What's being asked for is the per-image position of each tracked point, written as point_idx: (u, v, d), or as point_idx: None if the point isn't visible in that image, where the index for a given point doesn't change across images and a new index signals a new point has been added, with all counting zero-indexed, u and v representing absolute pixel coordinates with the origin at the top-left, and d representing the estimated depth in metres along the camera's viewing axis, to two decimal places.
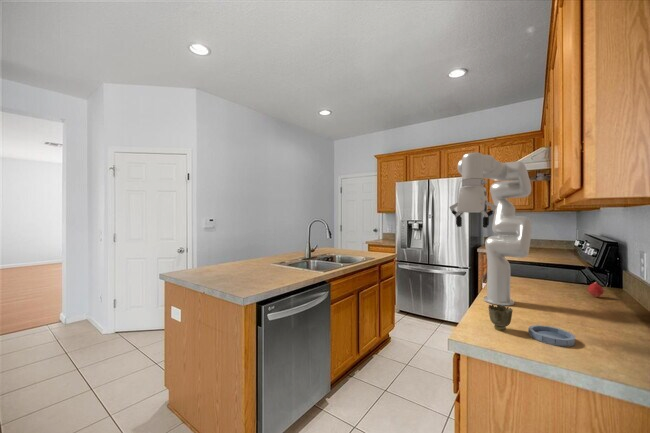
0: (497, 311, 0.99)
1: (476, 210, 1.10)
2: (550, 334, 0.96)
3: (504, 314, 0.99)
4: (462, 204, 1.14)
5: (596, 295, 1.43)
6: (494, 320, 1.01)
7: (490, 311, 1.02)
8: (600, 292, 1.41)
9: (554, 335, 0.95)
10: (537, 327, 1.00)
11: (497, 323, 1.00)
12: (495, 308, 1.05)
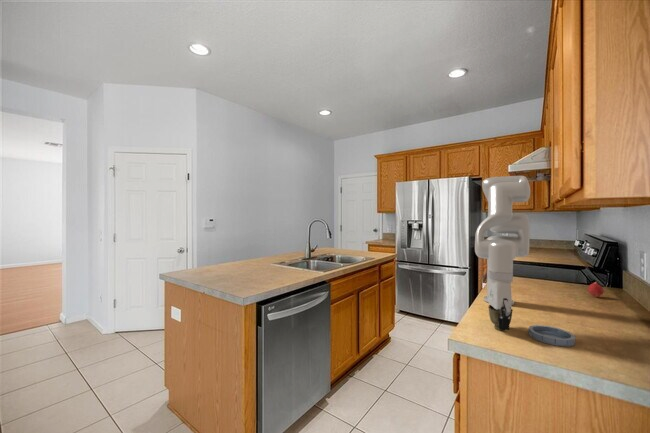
0: (497, 311, 0.99)
1: None
2: (550, 334, 0.96)
3: None
4: None
5: (596, 295, 1.43)
6: (494, 320, 1.01)
7: (490, 311, 1.02)
8: (600, 292, 1.41)
9: (554, 335, 0.95)
10: (537, 327, 1.00)
11: (497, 323, 1.00)
12: None
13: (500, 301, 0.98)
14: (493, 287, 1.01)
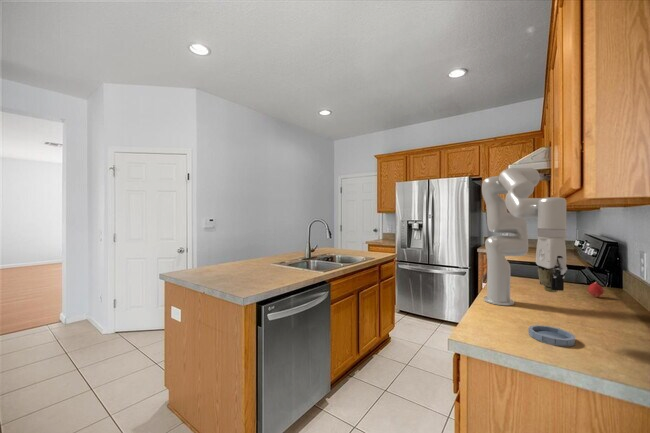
0: (549, 271, 0.92)
1: None
2: (550, 334, 0.96)
3: None
4: None
5: (596, 295, 1.43)
6: (545, 281, 0.93)
7: (540, 272, 0.95)
8: (600, 292, 1.41)
9: (554, 335, 0.95)
10: (537, 327, 1.00)
11: (549, 284, 0.93)
12: (544, 270, 0.98)
13: (554, 259, 0.90)
14: (544, 245, 0.94)
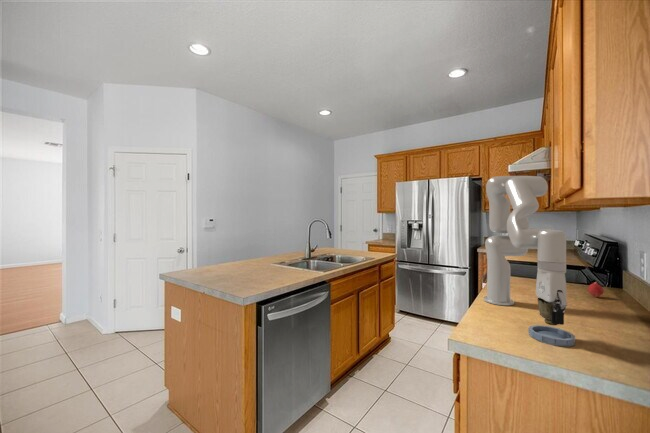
0: (549, 304, 0.92)
1: None
2: (550, 334, 0.96)
3: None
4: None
5: (596, 295, 1.43)
6: (545, 314, 0.93)
7: (540, 304, 0.95)
8: (600, 292, 1.41)
9: (554, 335, 0.95)
10: (537, 327, 1.00)
11: (549, 317, 0.93)
12: (544, 301, 0.98)
13: (554, 293, 0.90)
14: (544, 278, 0.94)
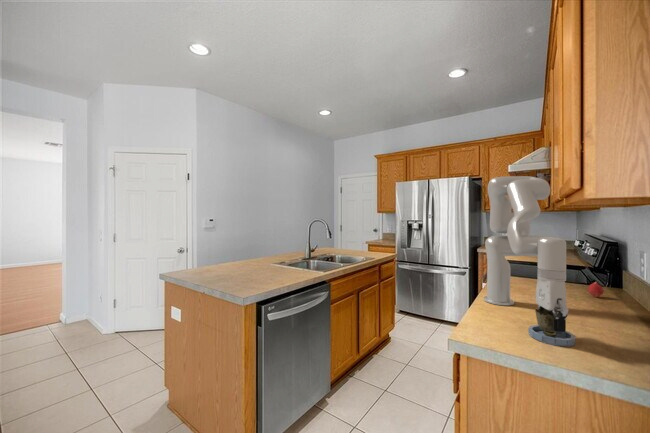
0: (547, 316, 0.93)
1: None
2: None
3: None
4: None
5: (596, 295, 1.43)
6: (544, 326, 0.94)
7: (538, 316, 0.95)
8: (600, 292, 1.41)
9: None
10: (537, 327, 1.00)
11: (548, 329, 0.93)
12: (542, 312, 0.99)
13: (554, 301, 0.90)
14: (544, 286, 0.94)
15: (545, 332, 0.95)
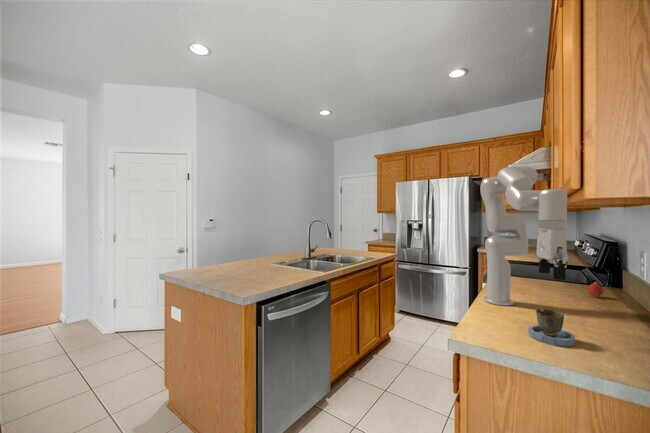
0: (549, 317, 0.92)
1: None
2: None
3: (557, 320, 0.91)
4: None
5: (596, 295, 1.43)
6: (545, 326, 0.93)
7: (539, 316, 0.95)
8: (600, 292, 1.41)
9: None
10: (537, 327, 1.00)
11: (548, 329, 0.93)
12: (542, 312, 0.98)
13: (554, 250, 0.91)
14: (545, 237, 0.95)
15: (545, 332, 0.95)
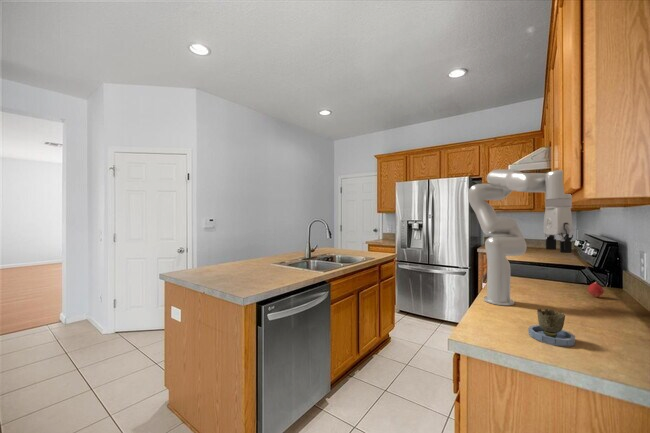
0: (550, 316, 0.92)
1: None
2: None
3: (558, 319, 0.91)
4: None
5: (596, 295, 1.43)
6: (546, 326, 0.93)
7: (541, 316, 0.95)
8: (600, 292, 1.41)
9: None
10: (537, 327, 1.00)
11: (549, 329, 0.93)
12: (543, 312, 0.98)
13: (560, 226, 0.99)
14: (551, 214, 1.03)
15: (546, 332, 0.95)
